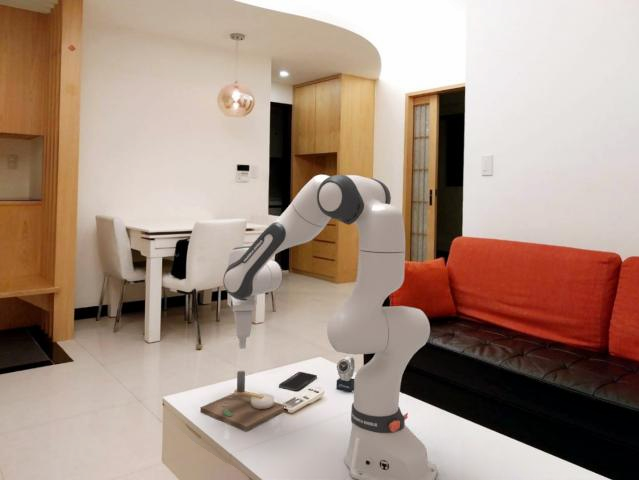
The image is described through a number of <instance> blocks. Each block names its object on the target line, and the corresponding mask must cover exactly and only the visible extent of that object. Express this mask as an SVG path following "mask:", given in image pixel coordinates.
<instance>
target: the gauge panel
mask: <svg viewBox="0 0 639 480" xmlns="http://www.w3.org/2000/svg"><path fill="white" fill-rule="evenodd" d="M251 397H252V396H248V395H244V394H240V393H236V392H233V393H230V394H229V395H226V396H223V397H221V398H219V399H216V400H213V401H212V402H210V403H207V404H205V405H203V406H201V407H200V413H202V414H204V415H206V416H209V417H211V418H213V419H216V420H218V421H220V422H223V423H225V424H228V425H230V426H232V427H235V428H236V429H239V430H242V431H244V432H245V433H246V432H248V431H251V430H253V429H254V428H256V427H258V426H259V425H262V424H264V423H266V422H268V421H270V420H272V419H274V418H275V417H277V416H278V415H280V414H282V413H285V412H284V407H286V408H287V405H285V404H281V403H279V402H277V401H274V405H273V406H272V407H270V408H267V409H257V408H254V407H252V406H251Z"/></svg>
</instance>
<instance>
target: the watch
mask: <svg viewBox="0 0 639 480" xmlns="http://www.w3.org/2000/svg"><path fill="white" fill-rule="evenodd" d="M355 367H356V364H355V358H354V356H353V357H352V356H347V355H345V356H344V357H342V358H341V359H340V360H338V362H337V364H336V370H337V374H338V376H339V378H338V379H336V388H335V390H339V391H342V392H347V393H353V392H354V379H355V378H352V377H353V376H354V372H355ZM352 391H353V392H352Z"/></svg>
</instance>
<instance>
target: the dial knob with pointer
mask: <svg viewBox="0 0 639 480" xmlns="http://www.w3.org/2000/svg"><path fill="white" fill-rule="evenodd" d="M233 391H234V392H233V393H235V392H236V393H240V394H244V395H248V396H252V397H251V406H252V407H254V408H257V409H267V408H270V407H272V406H273V405H274V402H275V397H274V395H272V394H269V393H265V392H264V393H254V392H250V391H246V371H244V370H239V371H237V372H236V389H234V390H233Z"/></svg>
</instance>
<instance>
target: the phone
mask: <svg viewBox="0 0 639 480" xmlns="http://www.w3.org/2000/svg"><path fill="white" fill-rule="evenodd" d="M317 378H318V375H316V374H314V373H309V372H303V371H298V372H296V373H295V374H293V375H291V376H289V378H286V379H285V380H284V381H282V382H280V383H279V385H278V388H279V389H283V390H288V391H291V392H296V393H297V392H300V391H302V390H303V389H304V388H305V387H307V386H309V385H310V384H311V383H313V382H314V381H316V380H317Z"/></svg>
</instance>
